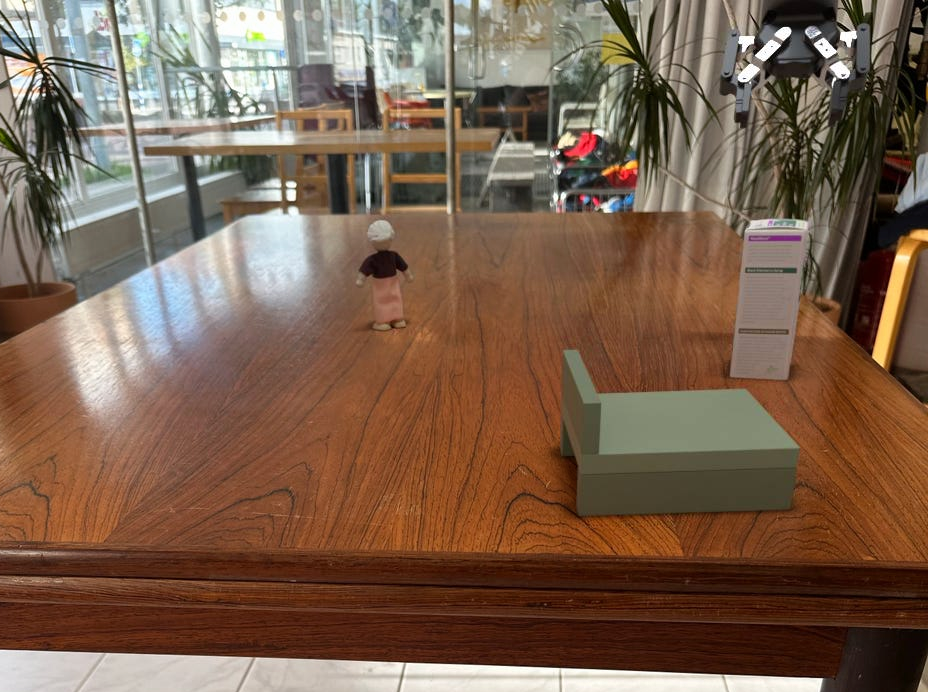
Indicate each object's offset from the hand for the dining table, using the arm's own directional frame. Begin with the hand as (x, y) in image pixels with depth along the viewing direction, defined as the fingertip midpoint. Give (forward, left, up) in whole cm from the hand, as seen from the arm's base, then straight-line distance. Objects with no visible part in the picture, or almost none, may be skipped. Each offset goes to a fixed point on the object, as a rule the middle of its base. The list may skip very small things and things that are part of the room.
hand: (788, 121), depth 95 cm
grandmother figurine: (+43, -16, -23) cm, 51 cm away
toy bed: (+18, +39, -22) cm, 48 cm away
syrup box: (+3, +11, -23) cm, 25 cm away
